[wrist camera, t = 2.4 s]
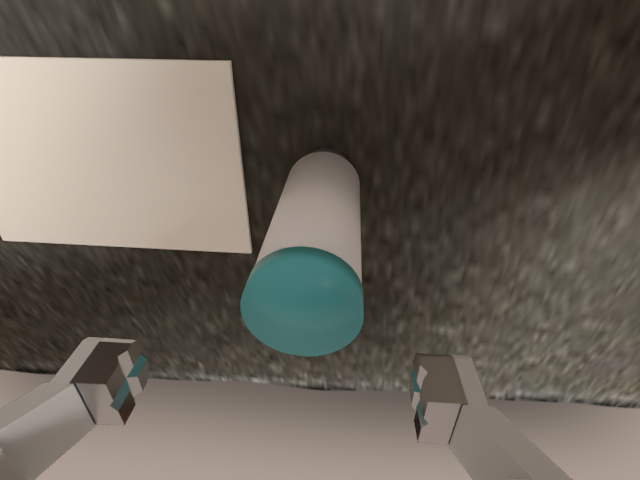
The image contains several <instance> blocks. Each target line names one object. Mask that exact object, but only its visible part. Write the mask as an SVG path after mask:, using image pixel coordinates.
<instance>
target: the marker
mask: <svg viewBox="0 0 640 480" xmlns="http://www.w3.org/2000/svg"><path fill="white" fill-rule="evenodd" d="M240 309H241V315H242V318H243V321H244V323H245V325H246V326H247V328H248V329H249V330H250V332H251V333H252V334H253V335H254V336H255V337H256V338H257V339H258V340H260V341H261V342H262V343H264V344H265V345H267V346H269V347H271V348H273V349H275V350H277V351H280V352H283V353H286V354H291V355H296V356H320V355H326V354H330V353H333V352H335V351H338V350H340V349H342V348H344V347H345V346H347V345H348V344H349V343H351V342H352V341H353V340H354V339H355V337H356V336H357V335H358V333H359V332H360V330H361V327H362V325H363V320H364V300H363V287H362V274H361V223H360V182H359V177H358V174H357V172H356V170H355V169H354V167H353V166H352V165H351V163H350V162H348V160H347V158H346V157H345V156H344V155H343V154H342V153H340V152H339V151H337V150H334V149H331V148H320V149H316V150H314V151H312V152H311V153H309V154H308V155H306V156H304V157H302V158H301V159H299V160H298V161H297V162H296V163H295V164H294V166H293V167H292V169H291V171H290V173H289V176H288V178H287V181H286V184H285V186H284V189H283V192H282V194H281V197H280V200H279V202H278V205H277V208H276V210H275V213H274V216H273V218H272V221H271V224H270V226H269V229H268V232H267V234H266V237H265V240H264V242H263V245H262V248H261V250H260V253H259V256H258V258H257V261H256V264H255V266H254V268H253V269H252V271H251V273H250V275H249V278H248V281H247V283H246V286H245V289H244V291H243V294H242V297H241V303H240Z"/></svg>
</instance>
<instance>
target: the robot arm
mask: <svg viewBox="0 0 640 480" xmlns="http://www.w3.org/2000/svg"><path fill="white" fill-rule="evenodd" d="M143 349H144V348H143V346H142V343H141V341H138V340H128V339H114V338H98V337H88V338H86V339H84V340H83V341H82V342H81V343H80V344H79V346H78V347H77V348H76V350H75V351H74V352H73V353H72V355H71V356H70V357H69V358H68V360H67V361H66V362H65V364H64V365H63V366H62V367H61V369H60V370H59V371H58V372H57V374H56V375H55V376H54V378H53V379H52V380H51V382H44V383H43V384H41V385H39V386H38V387H36V388H34V389H33V390H31V391H29V392H28V393H26V394H24V395H23V396H21V397H19V398H18V399H16V400H14V401H13V402H11V403H9V404H8V405H6V406H4V407H3V408H1V409H0V480H35V479H36V478H37V477H38V476H39V475H40V474H41V473H43V472H44V471H45V470H46V469H47V468H48V467H49V466H51V465H52V464H53V463H54V462H55V461H56V460H57V459H59V458H60V457H61V456H62V455H63V454H64V453H65V452H67V451H68V450H69V449H70V448H71V447H72V446H73V445H75V444H76V443H77V442H78V441H79V440H80V439H81V438H83V437H84V436H85V435H86V434H87V433H88V432H89V431H91V430H92V429H93V428H94V427H95V425H125V424H126V421H127V420H128V418H129V416H130V414H131V412H132V410H133V408H134V406H135V399H134V397H135V396H136V395H138V394H139V393H140V392H142V391H143V389H144V387H145V385H146V383H147V380H148V376H149V363H148V360H147V358H145V357H144V356H143V355H142V354H141V352H142V351H143ZM413 364H414V370H413V371H412V372H411V375H410V386H409V391H410V400H411V406H412V407H413V408H414V409H415V410H416V412H415V416H414V425H415V430H416V436H417V441H418V443H427V444H438V445H449V448H450V450H451V451H452V452H453V454H454V455H455V457H456V458H457V459H458V461H459V462H460V463H461V464H462V466H463V467H464V469H465V470H466V471H467V473H468V474H469V475H470V477H471V478H472V479H473V480H572V479H571V478H570V477H569V476H568V475H567V474H566V473H565V472H564V471H563V470H562V469H561V468H560V467H558V466H557V465H556V464H555V463H554V462H553V461H552V460H551V459H550V458H549V457H548V456H547V455H546V454H544V453H543V452H542V451H541V450H540V449H539V448H538V447H537V446H536V445H535V444H534V443H533V442H532V441H531V440H530V439H528V438H527V437H526V436H525V435H524V434H523V433H522V432H521V431H520V430H519V429H518V428H517V427H516V426H515V425H514V424H512V423H511V422H510V421H509V420H508V419H507V418H506V417H505V416H504V415H503V414H502V413H501V412H499V410H497V409H496V408H495V407H492V406H489V405H488V402H487V399H486V397H485V394H484V391H483V388H482V386H481V383H480V380H479V377H478V375H477V372H476V369H475V366H474V364H473V361H472V358H471V357H470V356H466V355H449V354H422V353H416V354H415V356H414V360H413Z"/></svg>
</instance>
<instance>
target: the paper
mask: <svg viewBox="0 0 640 480" xmlns="http://www.w3.org/2000/svg"><path fill="white" fill-rule="evenodd" d="M0 236H1V237H2V239H3V241H19V242H38V243H57V244H76V245H96V246H115V247H134V248H153V249H173V250H192V251H211V252H230V253H250V254H251V253H252V244H251V234H250V225H249V216H248V207H247V198H246V189H245V180H244V171H243V162H242V153H241V144H240V135H239V126H238V117H237V108H236V99H235V90H234V81H233V72H232V63H231V60H180V59H126V58H73V57H19V56H0Z"/></svg>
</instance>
